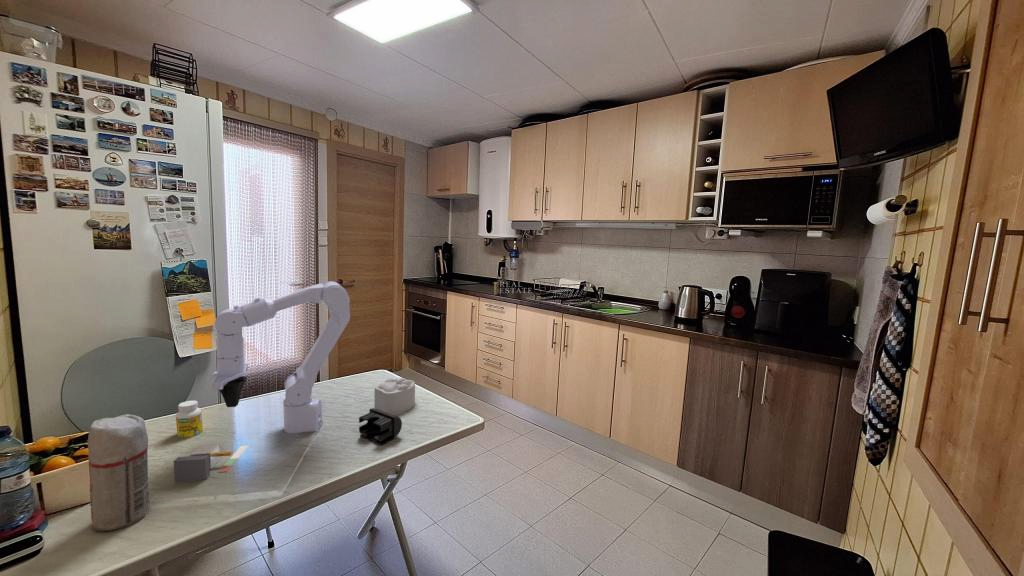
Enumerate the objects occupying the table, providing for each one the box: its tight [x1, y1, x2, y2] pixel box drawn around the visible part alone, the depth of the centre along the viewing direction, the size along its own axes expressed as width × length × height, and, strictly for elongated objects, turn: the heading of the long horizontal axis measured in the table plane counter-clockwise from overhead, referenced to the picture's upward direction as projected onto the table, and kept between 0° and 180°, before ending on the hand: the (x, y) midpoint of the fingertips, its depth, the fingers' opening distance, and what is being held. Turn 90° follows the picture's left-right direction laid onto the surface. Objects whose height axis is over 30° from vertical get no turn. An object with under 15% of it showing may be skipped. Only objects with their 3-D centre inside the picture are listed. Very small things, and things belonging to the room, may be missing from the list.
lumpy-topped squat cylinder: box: [374, 377, 416, 415], centre depth 130 cm, size 10×13×9 cm
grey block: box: [189, 444, 234, 470], centre depth 92 cm, size 8×4×4 cm, turn 102°
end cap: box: [358, 407, 403, 447], centre depth 110 cm, size 10×7×7 cm
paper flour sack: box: [87, 413, 150, 532], centre depth 74 cm, size 8×8×20 cm
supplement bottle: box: [175, 400, 204, 439], centre depth 105 cm, size 5×5×10 cm
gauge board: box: [173, 445, 250, 483], centre depth 93 cm, size 12×18×6 cm, turn 12°
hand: (232, 406), depth 102 cm, fingers closed
